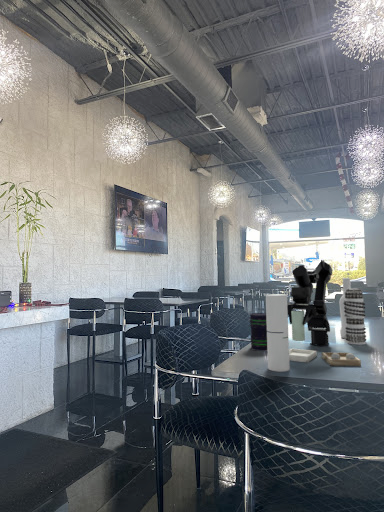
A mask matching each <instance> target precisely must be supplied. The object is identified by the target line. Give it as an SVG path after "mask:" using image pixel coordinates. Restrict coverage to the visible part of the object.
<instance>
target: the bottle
mask: <svg viewBox="0 0 384 512" xmlns="http://www.w3.org/2000/svg"><path fill="white" fill-rule="evenodd" d="M351 283H352V282H351V277H343V278H342V288H343V289H342V295H341V297H340V298H339V302H338V304H339V305H338V306H339V315H340V316H339V317H340V324H341V326H340V330H339V331H340V333H339V334H340V337H341V338H342V339H345V340H346V338H347V337H346V334H347V333H346V330H347V329H345V328H346V317H345V314H346V313H345V312H344V311H345V310H346V309H344V307H345V305H344V304H343V303H344V301H345V291H346V290H347V289H352V285H351Z"/></svg>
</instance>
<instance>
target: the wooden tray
mask: <svg viewBox="0 0 384 512" xmlns="http://www.w3.org/2000/svg"><path fill="white" fill-rule="evenodd" d="M333 353H334V352H321V357H322V359H323V360H324V361H325V362H326V363H327V364H328V365H329V366H330V367H333V366H334V367H337V366H338V367H341V366H342V367H361V366H362V364H361V363H362V362H361V361H362V360H361V359H360V358H358V357H357V356H355V360H347V359H346V355H347V354H348V353H349V352H336V353H337V354H339V355H340V359H331V355H332V354H333Z"/></svg>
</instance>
